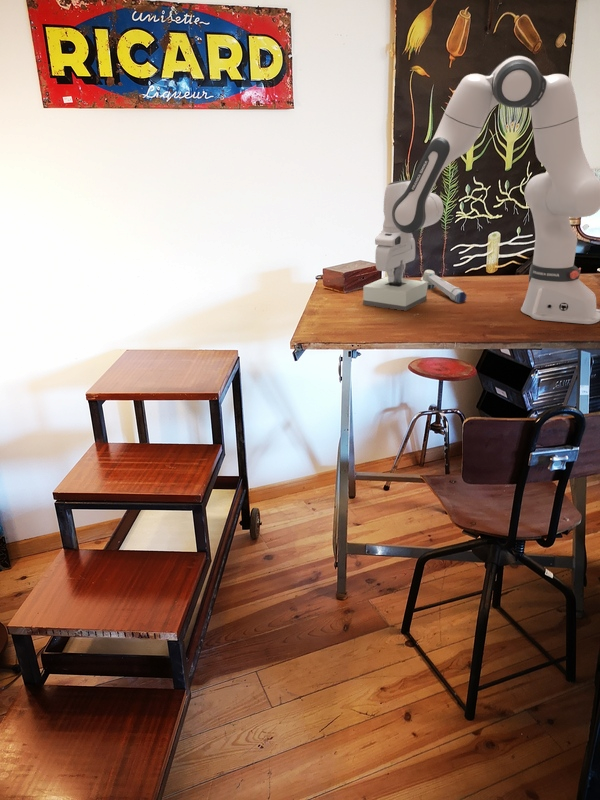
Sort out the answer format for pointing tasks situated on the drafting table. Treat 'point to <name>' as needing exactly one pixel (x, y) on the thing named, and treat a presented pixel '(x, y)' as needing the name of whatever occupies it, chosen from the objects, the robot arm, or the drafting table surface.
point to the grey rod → (443, 286)
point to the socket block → (395, 294)
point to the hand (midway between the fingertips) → (395, 279)
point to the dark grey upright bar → (397, 276)
